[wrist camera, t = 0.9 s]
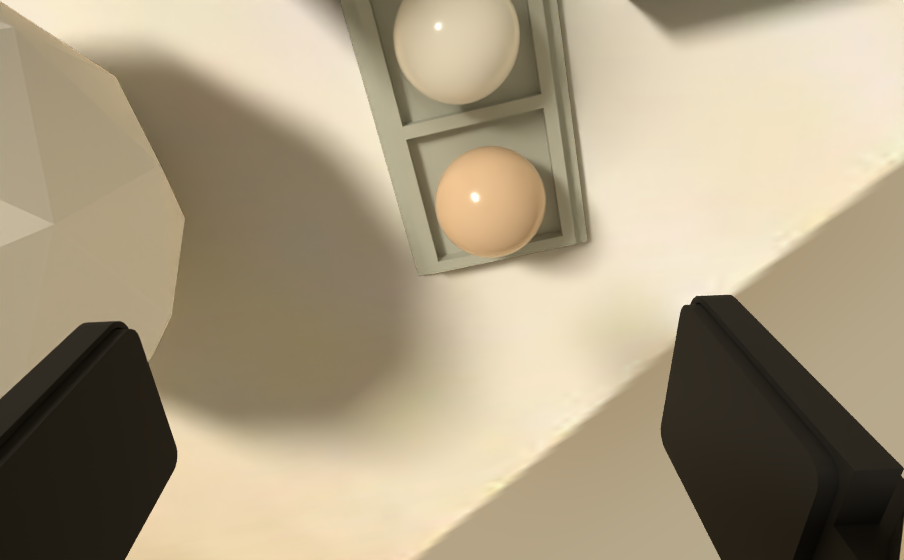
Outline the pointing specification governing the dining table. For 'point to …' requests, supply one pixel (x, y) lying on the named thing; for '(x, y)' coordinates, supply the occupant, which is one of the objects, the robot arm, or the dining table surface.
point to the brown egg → (490, 201)
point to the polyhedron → (75, 204)
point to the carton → (472, 129)
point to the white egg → (456, 47)
